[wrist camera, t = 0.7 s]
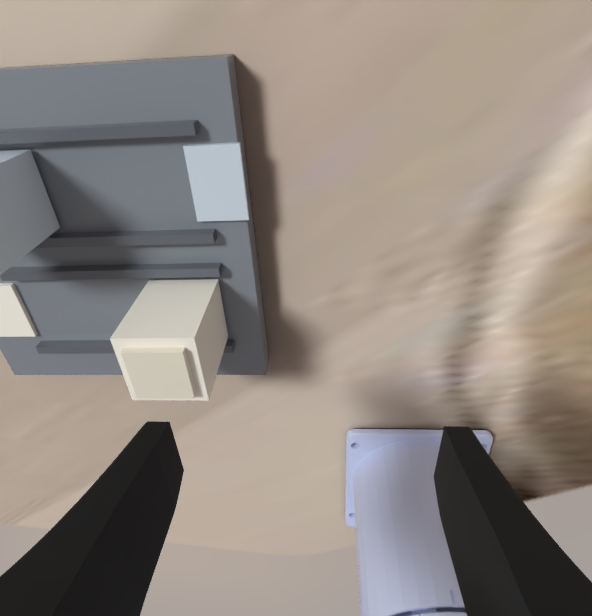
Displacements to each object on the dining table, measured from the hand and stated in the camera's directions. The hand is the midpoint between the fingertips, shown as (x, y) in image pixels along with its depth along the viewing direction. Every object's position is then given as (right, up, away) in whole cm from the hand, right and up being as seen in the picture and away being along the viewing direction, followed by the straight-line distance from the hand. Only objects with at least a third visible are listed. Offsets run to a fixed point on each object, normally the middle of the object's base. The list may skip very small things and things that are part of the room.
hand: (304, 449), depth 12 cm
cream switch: (-5, +4, +8) cm, 10 cm away
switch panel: (-8, +7, +7) cm, 13 cm away
